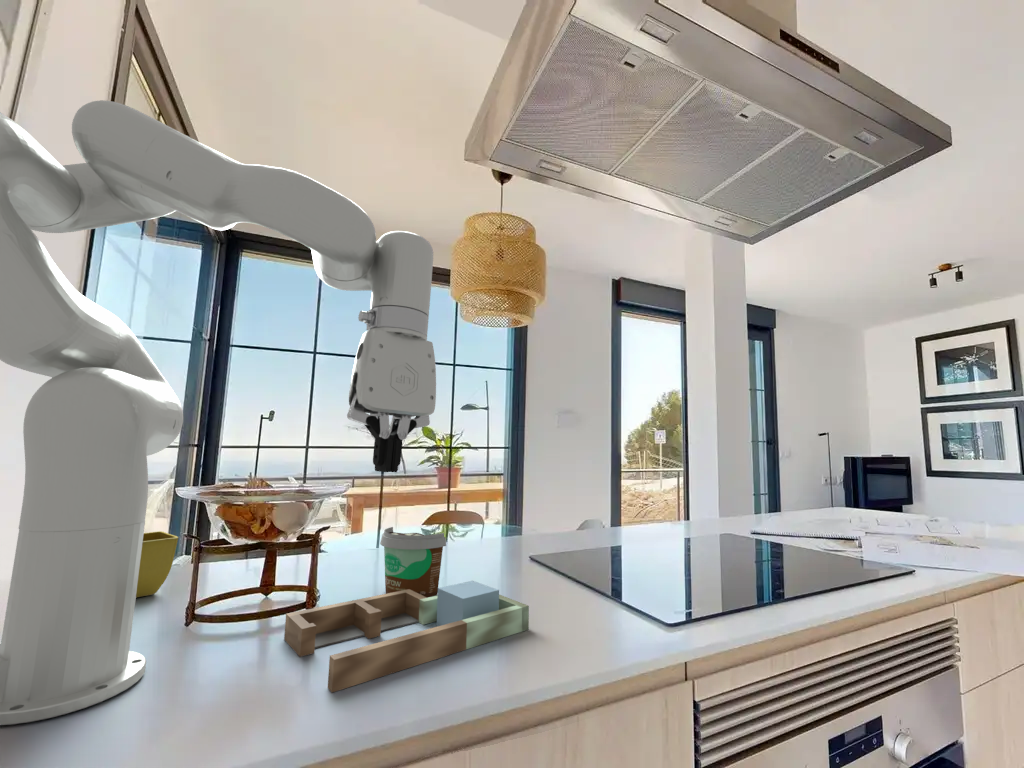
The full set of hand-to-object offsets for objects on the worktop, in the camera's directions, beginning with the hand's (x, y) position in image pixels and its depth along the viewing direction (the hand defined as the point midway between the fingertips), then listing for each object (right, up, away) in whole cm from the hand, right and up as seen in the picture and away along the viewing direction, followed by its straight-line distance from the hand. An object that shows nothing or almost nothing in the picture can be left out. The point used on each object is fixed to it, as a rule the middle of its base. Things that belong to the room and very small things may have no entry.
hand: (385, 471), depth 58 cm
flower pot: (-45, -23, +16) cm, 53 cm away
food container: (-2, -24, +18) cm, 30 cm away
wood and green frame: (+3, -22, +3) cm, 22 cm away
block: (+10, -22, +5) cm, 25 cm away
